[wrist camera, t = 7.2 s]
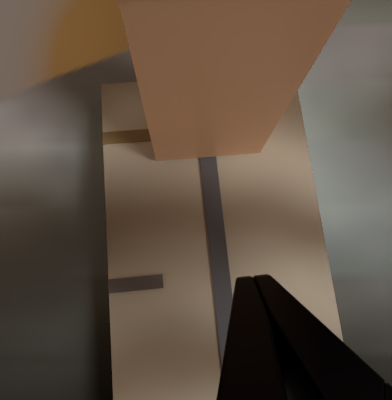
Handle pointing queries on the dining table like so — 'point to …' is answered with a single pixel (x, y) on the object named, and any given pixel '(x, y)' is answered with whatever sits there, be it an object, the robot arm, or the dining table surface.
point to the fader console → (200, 247)
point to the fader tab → (222, 68)
